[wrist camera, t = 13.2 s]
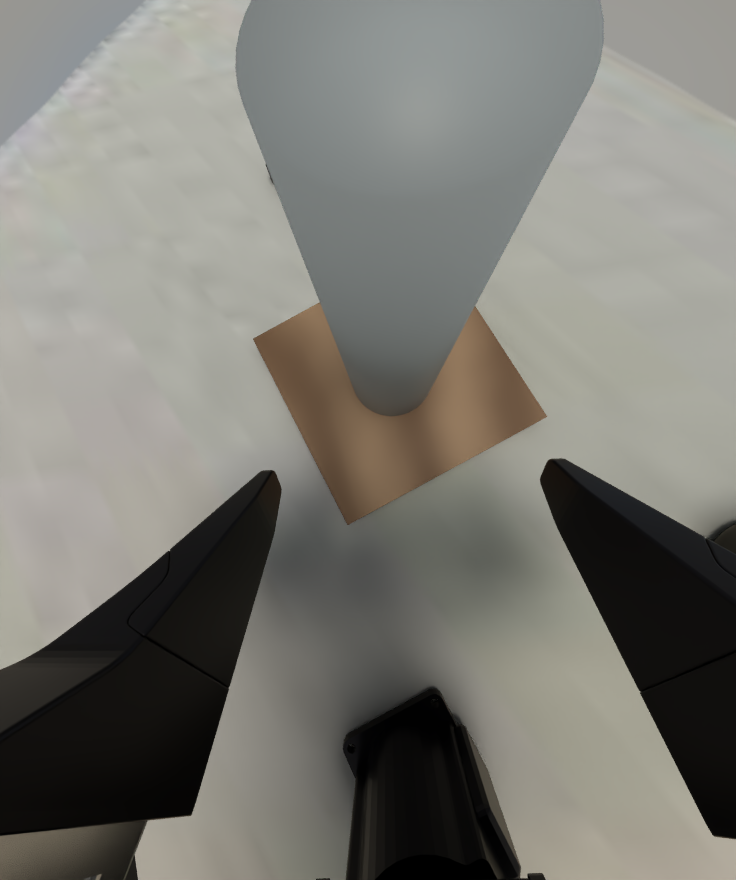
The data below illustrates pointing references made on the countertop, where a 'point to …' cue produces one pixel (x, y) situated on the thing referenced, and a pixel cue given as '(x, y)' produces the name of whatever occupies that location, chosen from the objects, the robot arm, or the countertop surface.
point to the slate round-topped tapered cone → (409, 156)
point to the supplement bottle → (728, 539)
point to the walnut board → (394, 437)
